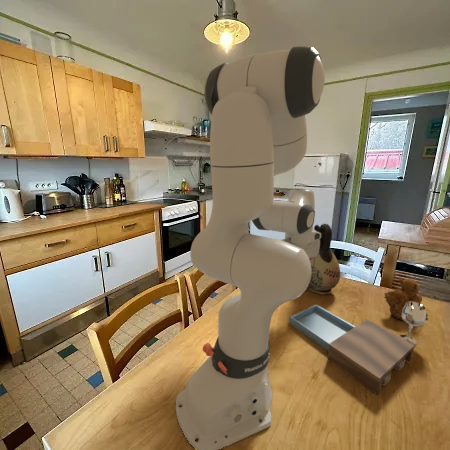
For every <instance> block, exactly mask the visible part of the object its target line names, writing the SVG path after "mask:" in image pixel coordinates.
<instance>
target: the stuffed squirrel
mask: <svg viewBox="0 0 450 450" xmlns="http://www.w3.org/2000/svg"><path fill="white" fill-rule="evenodd" d="M397 281H398V282H399V284H400V285H401V287H400V288H401V290H400V289H394V290H390V291H388V290H387V292H385V293H384V296H383V298H384V299H385V303H387V304H388V306H389V312H390V315H392V316H393V317H395V318H396V319H399V320H400V321H404V320H403V319H402V316H401V313H402V309H403V307H404V305H405V304H406V302H408V301H412V302H416V303H419V304H421V303H422V300H423V296H422V295H421V294H419V291H423V289H422V287H421V286H420V284H419V283H418V282H417V281H416V280H415V279H412V278H405V279H403V278H398V279H397ZM426 318H428V313H427V312H426Z"/></svg>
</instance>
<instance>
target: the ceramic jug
mask: <svg viewBox="0 0 450 450" xmlns="http://www.w3.org/2000/svg"><path fill="white" fill-rule="evenodd" d="M313 231H316V232H319V233H321V238H320V239H319V240H320V248H319V253H318V255H317V256H315V257H312V258H309V260H310V263H311V269H312V274H311V280H310V283H309V285H308V287H307V288H308V289H309V291H311V292H313V293H314V294H319V295H322V296H323V295H328V294H330V293H331V292H332V290H333V289H334V288H335V287H336V286H337V285H338V284H339V282H340V279H341V268H340V267H341V266H340V264H339V261H338V259H337V257H336V255H335V254H334V252H333V251H332V249H331V243H332V239H333V238H332V237H333V231H332V227H331V226H330V225H329V224H328V223H322V224H321V225H318V224H315V225H313Z"/></svg>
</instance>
